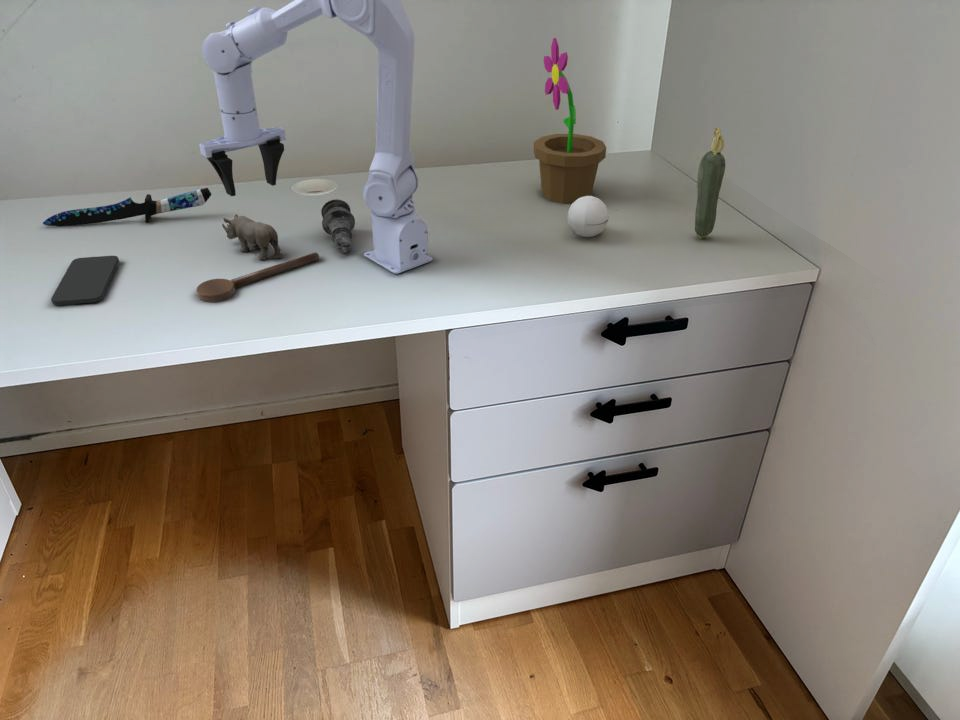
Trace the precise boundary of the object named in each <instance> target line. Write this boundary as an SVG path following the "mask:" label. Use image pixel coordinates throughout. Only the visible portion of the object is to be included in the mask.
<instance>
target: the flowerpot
mask: <svg viewBox="0 0 960 720" xmlns="http://www.w3.org/2000/svg"><path fill="white" fill-rule="evenodd" d="M550 50H551V51H550V54H551V55H543V66H544V69H545V70H546V72H547V73H551V77H548V78H547V79H546V81H545V84H544V94H545V95H546V96H548V95H551V94H552V103H553V106H554V109H555V111H558V110H559V109H560V105H561V94H566V95H567V102H568V103H567V104H568V112H569V117H566V118H563V120H562V121H563V124H564V125H565V126H566V128H567V130H568V133H553V134H549V135H544V136H541V137H539V138H538V139H536V140H534V142H533V154H534V155H533V156H534V158H535V159H536V160H538V162H539V163H538V164H539V175H540V188H541V194H542V195H541V196H542V197H543V198H545V199H546V200H548V201H550V202H555V203H560V204H572V203H573V202H574V201H576V200H577V199H578V198H581V197H584V196H593V191H594V186H595V182H596V178H597V174H598V169H599V164H600V163H601V162H602V161H604V159H605V158H606V155H607V146H606V144H605V142H604V141H603V140H601V139H598V138H596V137H593V136H591V135H586V134H585V135H584V134H578V133H574V125H576V123H577V122H576V118H577V116H576V114H577V109H576V106H575V105H574V98H573V97H574V95H573V92H572V89H571V87H570V83H569V82H568V79H567V76H565V74H564V73H563V71H565V69H566V68H567V66H568V61H569V60H568V58H569V56H568V55H569V54H568V52H566V51H565V52H562V53H560V46H559V42H558V39H557V38H556V37H553V38H552V41H551V45H550Z"/></svg>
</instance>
